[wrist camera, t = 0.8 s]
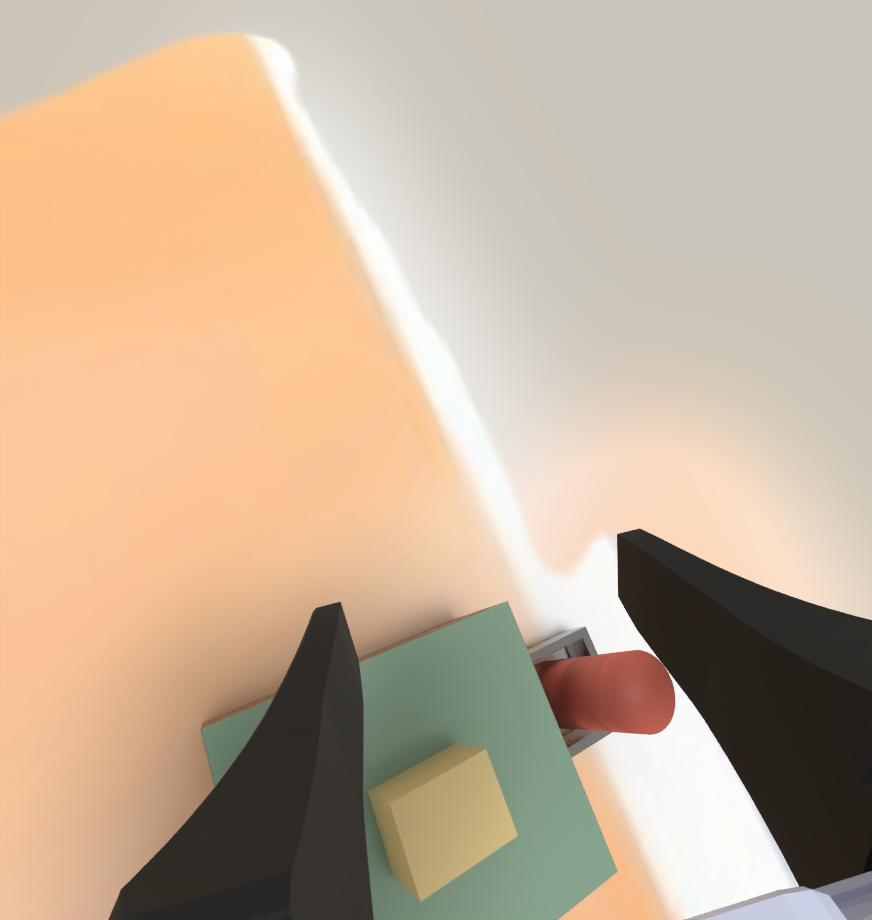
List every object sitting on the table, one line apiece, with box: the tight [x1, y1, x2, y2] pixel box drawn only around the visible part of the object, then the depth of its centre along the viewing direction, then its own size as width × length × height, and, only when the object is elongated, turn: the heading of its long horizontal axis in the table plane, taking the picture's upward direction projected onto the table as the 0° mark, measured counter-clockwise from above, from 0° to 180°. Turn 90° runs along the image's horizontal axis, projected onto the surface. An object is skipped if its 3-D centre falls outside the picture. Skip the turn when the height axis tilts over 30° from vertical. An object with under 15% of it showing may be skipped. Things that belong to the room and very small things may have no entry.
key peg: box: [534, 650, 675, 735], centre depth 28 cm, size 4×4×8 cm
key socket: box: [527, 627, 612, 758], centre depth 31 cm, size 6×6×2 cm
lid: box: [201, 601, 618, 920], centre depth 20 cm, size 12×14×4 cm
